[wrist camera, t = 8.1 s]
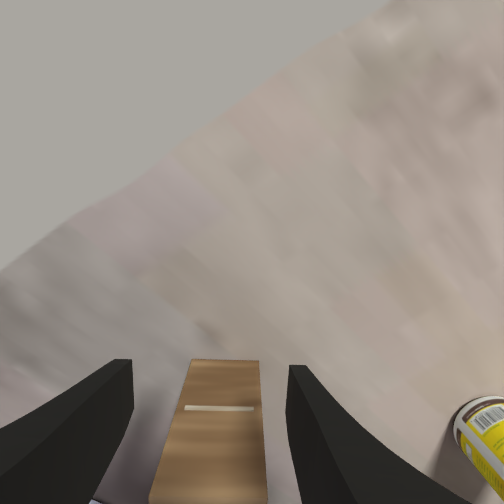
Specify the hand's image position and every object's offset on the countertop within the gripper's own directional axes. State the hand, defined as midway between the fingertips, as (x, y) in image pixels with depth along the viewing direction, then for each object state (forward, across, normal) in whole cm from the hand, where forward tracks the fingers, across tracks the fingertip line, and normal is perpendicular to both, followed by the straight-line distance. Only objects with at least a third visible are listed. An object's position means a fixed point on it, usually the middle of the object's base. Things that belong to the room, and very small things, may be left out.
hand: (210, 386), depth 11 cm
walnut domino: (+10, 0, +6) cm, 12 cm away
